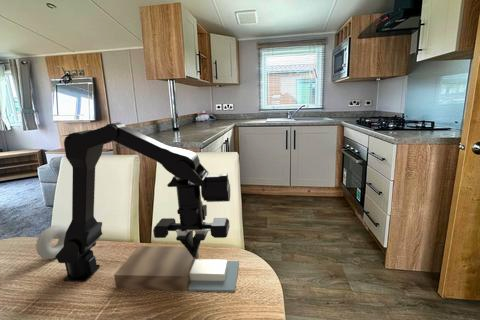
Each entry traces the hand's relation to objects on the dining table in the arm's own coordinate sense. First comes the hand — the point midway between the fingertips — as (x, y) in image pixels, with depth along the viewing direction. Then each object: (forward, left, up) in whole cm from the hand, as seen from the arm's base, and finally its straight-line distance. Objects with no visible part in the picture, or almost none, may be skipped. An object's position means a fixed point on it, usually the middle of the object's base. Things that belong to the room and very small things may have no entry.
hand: (195, 256), depth 68 cm
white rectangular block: (+4, 0, -5) cm, 6 cm away
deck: (-10, 0, -5) cm, 11 cm away
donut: (-46, +7, -5) cm, 47 cm away
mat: (+5, -1, -5) cm, 7 cm away
